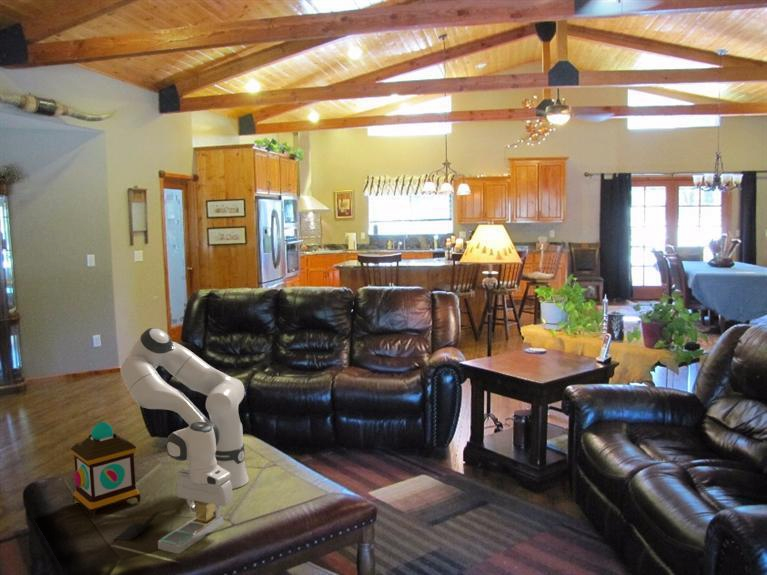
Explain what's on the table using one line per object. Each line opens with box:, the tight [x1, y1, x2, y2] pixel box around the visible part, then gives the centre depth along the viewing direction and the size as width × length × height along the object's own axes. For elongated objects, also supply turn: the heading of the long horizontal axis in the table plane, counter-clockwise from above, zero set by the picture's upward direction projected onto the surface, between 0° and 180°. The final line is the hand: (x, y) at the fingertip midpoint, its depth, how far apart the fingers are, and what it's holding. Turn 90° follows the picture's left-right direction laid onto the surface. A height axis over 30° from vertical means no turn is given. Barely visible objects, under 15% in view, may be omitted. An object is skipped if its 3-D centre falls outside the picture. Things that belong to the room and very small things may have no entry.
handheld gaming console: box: [113, 511, 159, 542], centre depth 199 cm, size 12×7×10 cm
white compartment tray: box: [157, 514, 224, 555], centre depth 197 cm, size 8×21×3 cm, turn 157°
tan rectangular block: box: [195, 501, 216, 524], centre depth 203 cm, size 4×4×8 cm
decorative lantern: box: [70, 421, 141, 519], centre depth 221 cm, size 20×20×30 cm
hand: (205, 513), depth 203 cm, fingers open, 8 cm apart
